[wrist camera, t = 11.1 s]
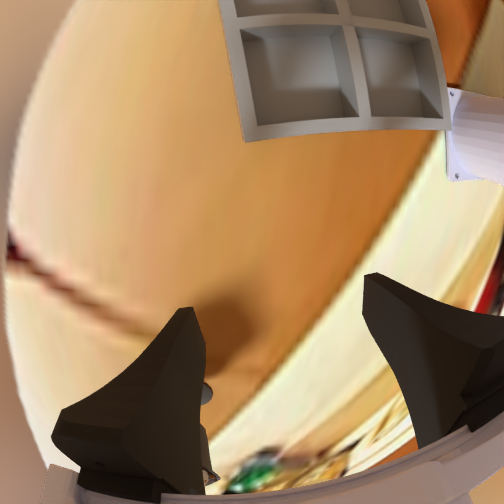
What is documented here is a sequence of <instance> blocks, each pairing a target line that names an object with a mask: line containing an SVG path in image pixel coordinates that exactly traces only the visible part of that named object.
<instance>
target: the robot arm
mask: <svg viewBox="0 0 504 504" xmlns="http://www.w3.org/2000/svg"><path fill="white" fill-rule="evenodd" d="M447 89H448V96H449V104H450V113H451V124H452V131H447V130H445V131H446V150H447V178H448V180H449V181H452V182H454V181H467V180H482V179H486V180H489V181H492V182H494V183H497V184H499V185H502V186H504V98H502V97H491V96H487V95H483V94H479V93H474V92H470V91H465V90H461V89H455V88H450V87H447ZM450 92H451V95H450ZM455 174H456V177H455ZM362 315H363V317H364V319H365V322H366V324H367V327H368V329H369V331H370V333H371V335H372V336H373V338H374V340H375V342H376V343H377V345H378V347H379V348H380V350H381V352H382V353H383V355H384V357H385V358H386V360H387V362H388V363H389V365H390V367H391V368H392V370H393V372H394V374H395V376H396V379H397V381H398V383H399V386H400V388H401V391H402V393H403V396H404V399H405V402H406V404H407V407H408V410H409V413H410V417H411V420H412V424H413V427H414V431H415V435H416V439H417V444H418V449H419V450H417V451H415V452H412V453H410V454H408V455H405V456H403V457H401V458H398V459H396V460H393V461H390V462H388V463H385V464H382V465H380V466H377V467H374V468H371V469H368V470H365V471H362V472H359V473H355V474H352V475H348V476H345V477H341V478H337V479H334V480H329V481H325V482H321V483H316V484H312V485H307V486H302V487H296V488H290V489H284V490H277V491H269V492H260V493H249V494H234V495H206V494H205V486H204V479H203V470H202V458H201V441H200V407H201V398H202V390H203V382H204V374H205V365H206V348H205V341H204V338H203V335H202V332H201V329H200V326H199V324H198V321H197V318H196V315H195V312H194V309H193V307H186V308H179V309H178V310H177V311H176V312H175V314H174V315H173V316H172V318H171V319H170V320H169V321H168V323H167V324H166V325H165V327H164V328H163V329H162V330H161V332H160V333H159V334H158V335H157V337H156V338H155V339H154V340H153V341H152V342H151V344H150V345H149V346H148V347H147V348H146V349H145V350H144V351H143V353H142V354H141V355H140V356H139V357H138V358H137V359H136V360H135V361H134V362H133V363H132V364H131V365H130V366H129V367H127V368H126V369H125V370H124V371H123V372H122V373H121V374H119V375H118V376H117V377H115V378H114V379H113V380H112V381H110V382H109V383H108V384H106V385H105V386H104V387H102V388H101V389H99V390H98V391H96V392H94V393H93V394H91V395H90V396H88V397H86V398H84V399H83V400H81V401H79V402H77V403H75V404H73V405H71V406H69V407H67V408H64V409H62V410H61V413H60V415H59V417H58V420H57V422H56V425H55V427H54V430H53V433H52V435H51V439H52V441H53V443H54V444H55V446H56V447H57V448H58V449H59V450H60V451H61V452H62V453H64V454H65V455H66V456H67V457H68V458H70V459H71V460H72V461H73V462H75V463H76V464H77V465H79V466H80V467H81V469H80V473H77V472H75V471H73V470H70V469H67V468H64V467H60V466H57V465H54V464H50V466H49V469H48V472H47V476H46V479H45V482H44V486H43V490H42V493H41V497H40V501H39V504H473V503H472V500H471V498H470V495H469V493H468V492H469V491H471V490H472V489H474V488H475V487H477V486H478V485H480V484H481V483H482V482H484V481H485V480H487V479H488V478H489V477H491V476H492V475H493V474H495V473H496V472H497V471H499V470H500V469H501V468H502V467H504V316H495V315H488V314H482V313H476V312H472V311H468V310H464V309H460V308H457V307H454V306H451V305H448V304H445V303H442V302H439V301H437V300H434V299H432V298H430V297H427V296H425V295H423V294H421V293H419V292H416V291H414V290H412V289H410V288H408V287H406V286H404V285H402V284H400V283H398V282H396V281H394V280H393V279H391V278H388V277H386V276H384V275H382V274H380V273H377V272H376V273H372V274H367V275H364V292H363V309H362Z"/></svg>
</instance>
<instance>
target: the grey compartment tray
mask: <svg viewBox="0 0 504 504" xmlns="http://www.w3.org/2000/svg"><path fill="white" fill-rule="evenodd" d="M218 5H219V10H220V16H221V21H222V26H223V32H224V37H225V42H226V48H227V53H228V58H229V64H230V69H231V75H232V80H233V86H234V91H235V97H236V103H237V108H238V114H239V119H240V125H241V131H242V136H243V141H244V142H245V143H247V142H253V141H260V140H266V139H273V138H281V137H289V136H297V135H306V134H316V133H328V132H341V131H357V130H385V129H420V130H447V131H452V124H451V113H450V104H449V96H448V89H447V83H446V77H445V71H444V66H443V61H442V56H441V52H440V48H439V43H438V39H437V36H436V32H435V28H434V25H433V21H432V18H431V15H430V12H429V9H428V6H427V3H426V0H218Z"/></svg>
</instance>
